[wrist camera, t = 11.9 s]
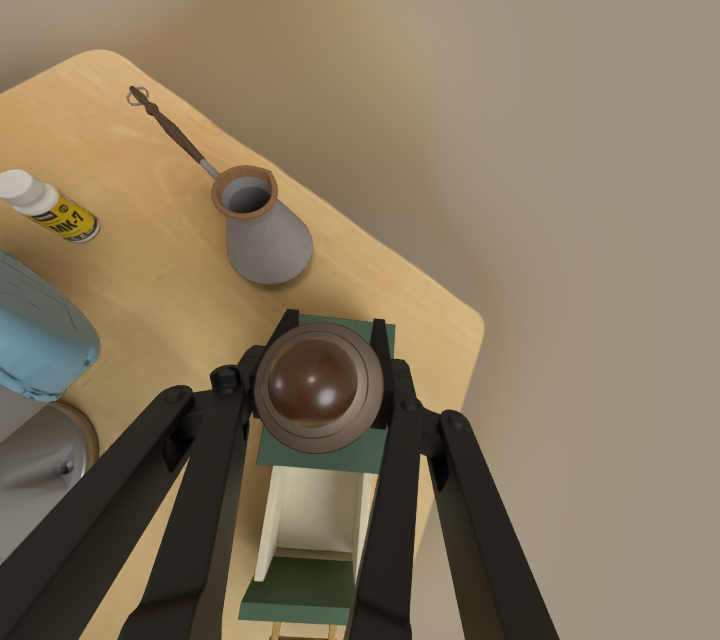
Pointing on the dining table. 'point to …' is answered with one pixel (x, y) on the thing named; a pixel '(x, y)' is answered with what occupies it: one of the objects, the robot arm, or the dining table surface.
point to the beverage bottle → (12, 257)
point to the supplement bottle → (47, 206)
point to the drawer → (314, 532)
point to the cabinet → (350, 459)
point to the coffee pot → (249, 214)
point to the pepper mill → (319, 388)
